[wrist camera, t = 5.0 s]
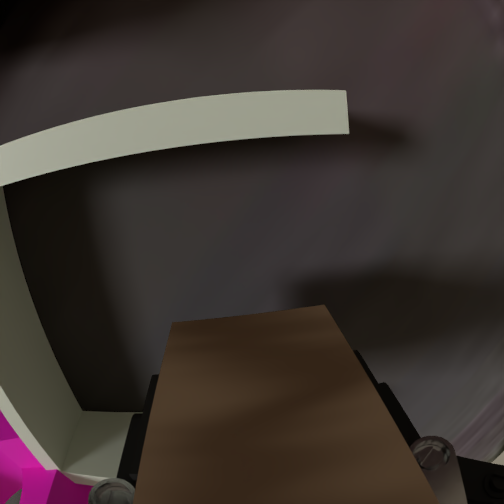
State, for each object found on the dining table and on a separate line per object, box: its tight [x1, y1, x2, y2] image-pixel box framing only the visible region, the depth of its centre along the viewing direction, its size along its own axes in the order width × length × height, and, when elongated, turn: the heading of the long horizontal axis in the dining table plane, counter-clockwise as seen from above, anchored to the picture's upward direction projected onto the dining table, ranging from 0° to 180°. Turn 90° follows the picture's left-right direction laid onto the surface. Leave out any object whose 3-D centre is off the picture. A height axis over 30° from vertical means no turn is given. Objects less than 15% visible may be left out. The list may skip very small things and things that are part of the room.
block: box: [133, 305, 440, 504], centre depth 7 cm, size 5×5×8 cm
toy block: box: [0, 410, 93, 504], centre depth 13 cm, size 15×6×8 cm, turn 115°
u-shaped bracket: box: [0, 90, 349, 486], centre depth 12 cm, size 15×16×5 cm
